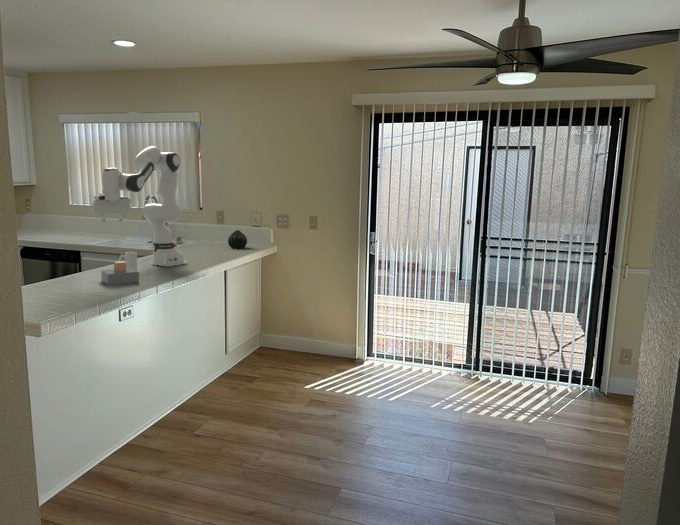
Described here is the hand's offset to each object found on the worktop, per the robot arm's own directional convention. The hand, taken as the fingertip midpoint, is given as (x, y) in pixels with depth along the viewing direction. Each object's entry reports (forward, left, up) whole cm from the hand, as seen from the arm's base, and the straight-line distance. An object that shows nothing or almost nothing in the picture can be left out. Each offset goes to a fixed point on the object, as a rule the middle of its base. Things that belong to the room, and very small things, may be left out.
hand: (112, 221), depth 293 cm
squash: (-111, -60, -31) cm, 130 cm away
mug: (-9, -3, -31) cm, 33 cm away
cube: (+2, +19, -25) cm, 31 cm away
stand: (+2, +19, -31) cm, 36 cm away
